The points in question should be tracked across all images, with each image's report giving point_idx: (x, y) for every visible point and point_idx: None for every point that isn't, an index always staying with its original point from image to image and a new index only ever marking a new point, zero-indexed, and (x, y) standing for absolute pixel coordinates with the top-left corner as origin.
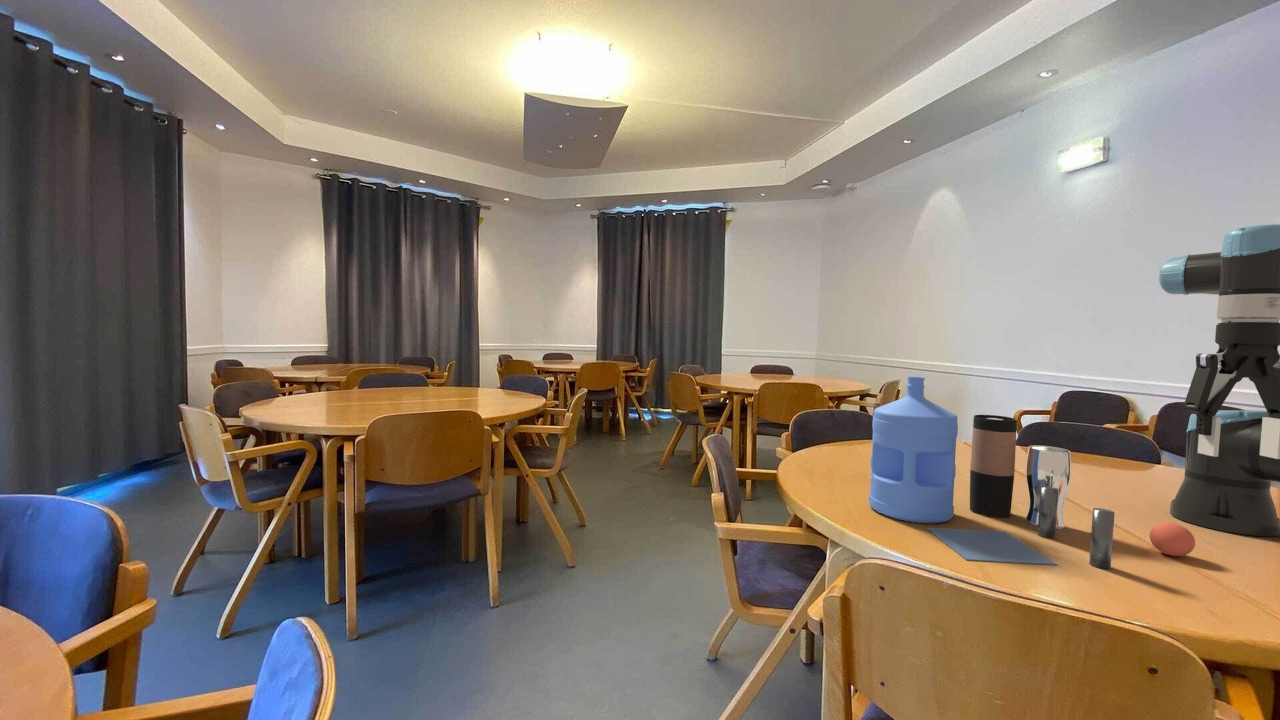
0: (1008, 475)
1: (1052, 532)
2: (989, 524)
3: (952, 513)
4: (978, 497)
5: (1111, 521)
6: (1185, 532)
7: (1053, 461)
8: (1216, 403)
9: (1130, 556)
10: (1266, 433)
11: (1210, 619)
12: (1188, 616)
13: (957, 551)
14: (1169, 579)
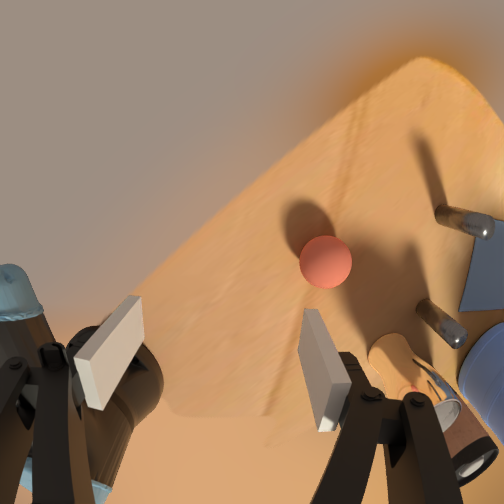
0: None
1: (429, 302)
2: None
3: (481, 342)
4: None
5: (480, 213)
6: (329, 247)
7: (448, 389)
8: (370, 428)
9: (382, 246)
10: (119, 363)
11: (436, 91)
12: (449, 100)
13: None
14: (399, 175)
